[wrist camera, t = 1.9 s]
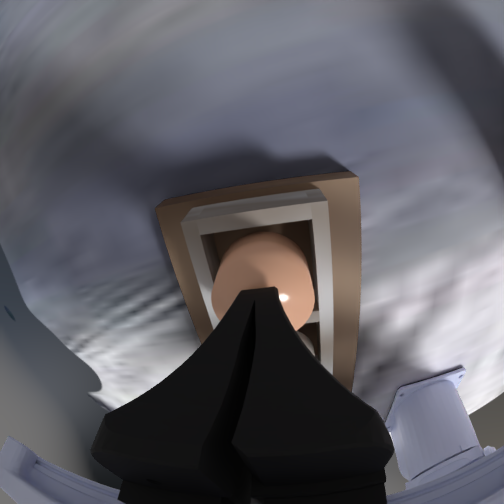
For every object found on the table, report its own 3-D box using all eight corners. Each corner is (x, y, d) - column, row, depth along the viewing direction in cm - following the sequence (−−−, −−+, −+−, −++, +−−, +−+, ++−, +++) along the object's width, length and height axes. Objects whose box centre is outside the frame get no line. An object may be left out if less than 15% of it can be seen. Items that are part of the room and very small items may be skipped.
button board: (347, 386, 21) (354, 419, 18) (232, 397, 23) (228, 430, 19) (350, 171, 14) (372, 187, 10) (164, 199, 15) (138, 222, 12)
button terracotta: (311, 302, 13) (316, 334, 11) (230, 311, 14) (224, 343, 12) (303, 225, 12) (310, 249, 10) (211, 238, 12) (199, 264, 10)
